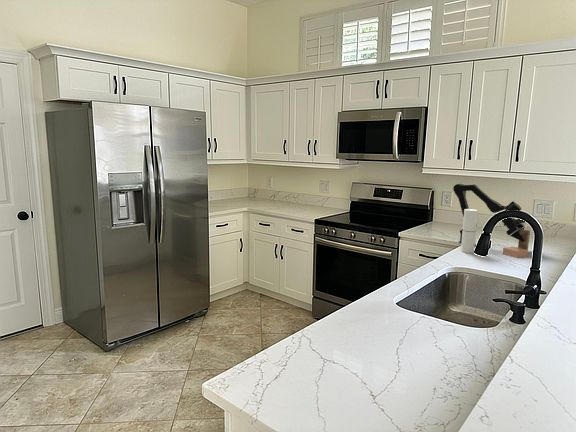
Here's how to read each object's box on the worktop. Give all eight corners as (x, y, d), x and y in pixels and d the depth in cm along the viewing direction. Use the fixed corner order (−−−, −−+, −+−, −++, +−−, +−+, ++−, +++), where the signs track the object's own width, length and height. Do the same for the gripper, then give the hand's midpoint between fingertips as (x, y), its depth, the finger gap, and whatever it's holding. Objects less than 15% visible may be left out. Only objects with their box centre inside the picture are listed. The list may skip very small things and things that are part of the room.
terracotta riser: (502, 254, 236) (503, 247, 235) (512, 253, 240) (513, 246, 239) (516, 258, 228) (517, 251, 227) (527, 256, 232) (527, 249, 231)
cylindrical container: (460, 251, 239) (463, 210, 235) (461, 249, 245) (464, 208, 241) (473, 253, 235) (477, 211, 232) (474, 251, 242) (478, 209, 238)
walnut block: (517, 251, 242) (519, 230, 240) (519, 250, 246) (521, 229, 244) (526, 253, 239) (528, 231, 237) (527, 251, 243) (530, 230, 241)
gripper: (514, 213, 235) (534, 234, 229) (522, 210, 249) (541, 230, 243) (498, 224, 241) (517, 245, 236) (506, 221, 255) (524, 241, 249)
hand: (525, 240), depth 241 cm, fingers open, 9 cm apart
